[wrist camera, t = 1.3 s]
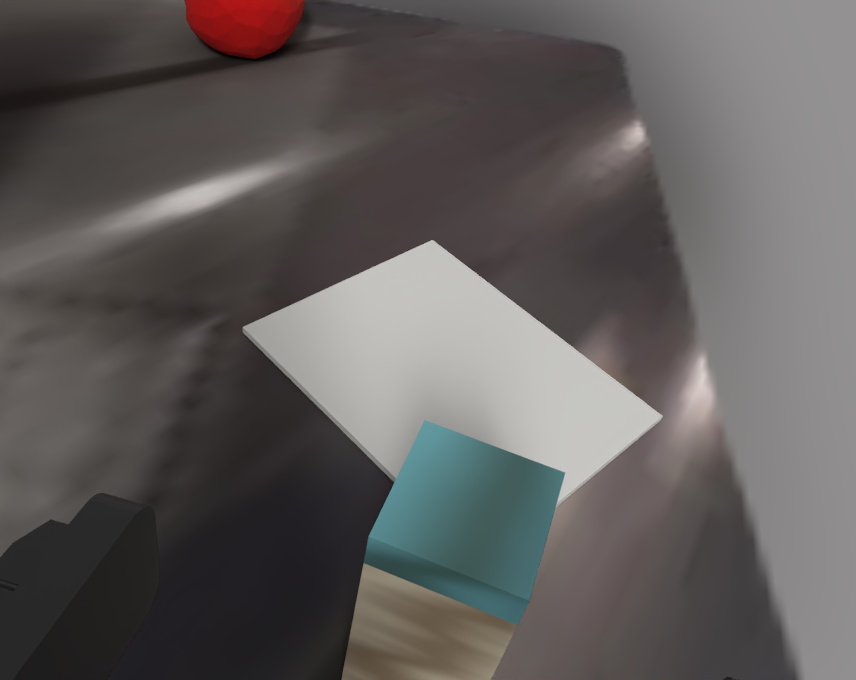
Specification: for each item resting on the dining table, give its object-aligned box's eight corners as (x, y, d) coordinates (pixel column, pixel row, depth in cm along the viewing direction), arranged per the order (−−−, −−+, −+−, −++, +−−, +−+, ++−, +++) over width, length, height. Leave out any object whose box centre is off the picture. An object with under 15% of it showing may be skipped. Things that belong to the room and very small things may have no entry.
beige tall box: (336, 701, 32) (368, 536, 24) (383, 595, 36) (424, 419, 28) (455, 752, 31) (529, 600, 23) (490, 639, 35) (565, 472, 27)
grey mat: (242, 332, 46) (242, 327, 46) (431, 244, 55) (432, 239, 54) (481, 568, 37) (483, 564, 37) (660, 420, 46) (662, 416, 46)
